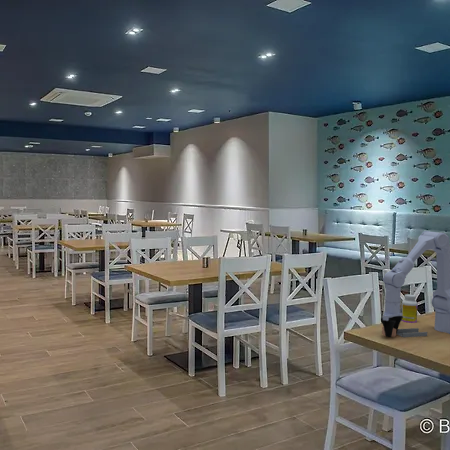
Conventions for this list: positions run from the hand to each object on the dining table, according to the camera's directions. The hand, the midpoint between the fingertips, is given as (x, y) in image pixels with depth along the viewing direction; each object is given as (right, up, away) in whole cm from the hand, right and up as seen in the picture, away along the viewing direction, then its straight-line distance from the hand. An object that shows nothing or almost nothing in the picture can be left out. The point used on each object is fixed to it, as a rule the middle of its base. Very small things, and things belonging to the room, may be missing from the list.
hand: (391, 334), depth 204 cm
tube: (+9, -1, +2) cm, 9 cm away
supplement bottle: (+16, 0, +24) cm, 29 cm away
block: (+1, +1, +1) cm, 2 cm away
